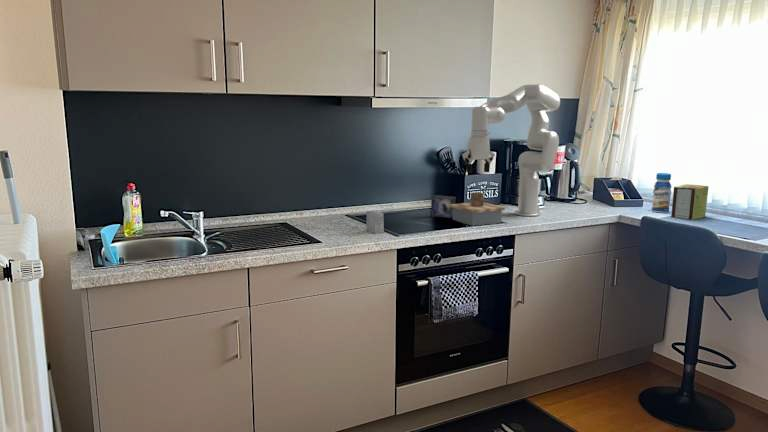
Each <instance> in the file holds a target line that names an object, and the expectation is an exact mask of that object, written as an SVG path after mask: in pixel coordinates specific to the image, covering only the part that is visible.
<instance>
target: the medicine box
mask: <svg viewBox="0 0 768 432" xmlns="http://www.w3.org/2000/svg"><path fill="white" fill-rule="evenodd" d="M365 216H366V217H365V220H366V223H365V224H366V225H365V226H366V227H365V228H366V231H367V232H370V233H372V234H376V235H377V234H384V231H385V230H384V228H385V227H384V225H385V224H384V213H383V212H382V211H377V210H368V211H366V215H365Z"/></svg>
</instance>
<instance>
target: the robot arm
mask: <svg viewBox="0 0 768 432" xmlns="http://www.w3.org/2000/svg"><path fill="white" fill-rule="evenodd" d="M525 105H526V107H527V109H528V111H529V113H530V116H531V123H530V124H531V125H530V127H529V132H528V134H527V135H528V136H527V139H526V145H527V147H528V148H529V149H530V150H532V151H524V152H522V153H521V154H519V157H518V169H519V171H518V172H519V182H518V183H519V184H518V186H519V188H518V200H517V201H518V203H517V204H518V206H517V209H516V210H515V211H514V214H515V215H517V216H521V217H538V216H541V211H544V210H545V209H546V207H545V206H544V205H539V188H540V187H539V186H540V178H539V174H538V172H539V173H548V172H550V171H551V170H552V168H553V167H554V164H555V160H556V156H557V152H558V150H559V147H560V146H559V145H560V137H559V135H558V134H557V132H555V131H553V130H552V131H551V130H549V126H550V119H549V117H548V114H547V112H554V111H557V110H558V109H559V108H560V106H561V98H560V95H558V94H557V93H556V92H554V91H553V90H551V89H550V88H548V87H547V86H545V85H543V84H538V83H537V84H523V85H521V86H519V87H518V88H516V89H514V90H513V91H511V92H510V93H508V94H506V95H502V96H500V97H497V98H494V99H491V100H488V101H486V102H484V103H483V104H481V105H480V106H474V107H473V108H472V110H471V111H472V113H471V133H470V136H471V137H469V138H468V142H467V148H466V151H465V152H464V153H462V154H461V156H462V159H463V161H464V162H465V164H466V169H465V170H466V173H469V174H472V173H473V164H472V163H473V162H474V161H475V160H477V161H478V160H480V161H481V160H482V161H484V164H483V172H484V173H489V172H490V165H491V164H492V161H493V160H494V158H495V155H496V153H495V152H493V151H491V147H490V146H491V145H490V142H491V141H490V138H489V136H490V135H491V132H490V131H489V125H490V124H499V123H501V122H503V121H504V120H505V117H506V114H509V113H513V112H516V111H518V110H519V109H521V108H522V107H524V106H525ZM533 150H536V151H533Z"/></svg>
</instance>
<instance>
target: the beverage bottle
mask: <svg viewBox="0 0 768 432" xmlns="http://www.w3.org/2000/svg"><path fill="white" fill-rule="evenodd" d="M671 178H672V175H671V173H668V172H656V178H655V179H656V182H655V183H654V185H653V191H652V193H653V195H652V196H653V197H652V205H651V206H652V207H651V211H652V212H654V213H658V214H659V213H660V214H667V213H669V212H670V201H671V194H672V190H671V189H672V184H671V182H670V181H671Z"/></svg>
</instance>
